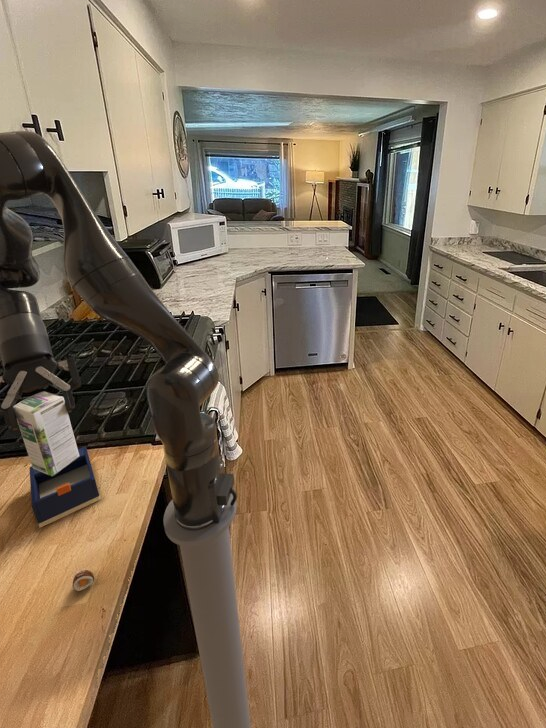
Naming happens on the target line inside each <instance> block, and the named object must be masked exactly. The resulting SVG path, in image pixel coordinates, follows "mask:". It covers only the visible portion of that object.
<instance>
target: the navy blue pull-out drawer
mask: <svg viewBox="0 0 546 728" xmlns="http://www.w3.org/2000/svg"><path fill="white" fill-rule="evenodd" d="M77 449H78V452H79V457H78V458H76V459H75V460H74V461H72V462H71V463H70V464H69V465H67V466H66V467H65V468H63V469H62V470H60V471H59V472H58V473H56V474H55V475H54V476H50V475H47V474H45V473H42V472H40V471H38V470H36V469H33V467H32V466H29V467H28V468H29V469H28V470H29V482H30V498H31V499H30V500H31V501H30V502H31V508H32V511H33V513H34V516H35V520H36V522H37V525H38V528H39V529H40V528H43V527H44V526H46V525H49V524H51V523H54V522H56V521H57V520H60V519H62V518H64V517H66V516H68V515H70V514H72V513H75V512H77V511H79V510H82V509H83V508H85V507H88V506H90V505H92V504H94V503H96V502H98V501H100V500H101V496H100V492H99V489H98V485H97V482H96V478H95V474H94V470H93V468H92V463H91V459H90V457H89V451H88V449H87V446H86V445H84V446H81V447H79V448H77Z"/></svg>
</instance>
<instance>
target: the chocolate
mask: <svg viewBox="0 0 546 728" xmlns="http://www.w3.org/2000/svg"><path fill="white" fill-rule="evenodd" d="M71 574H72V575H74V577H73V580H72V585H71V586H72V588H73V589H74V590H75V591H76V592H80V591H84V590H85V589H87V588H89V587H90V586H91V585H92V584H93V583H94V582H95V577H96V576H95V575H94V573H93V572H92V571H91V570H88V569H87V568H83V569H80V570H77V571H73V572H72V573H71Z"/></svg>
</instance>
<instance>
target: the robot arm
mask: <svg viewBox="0 0 546 728" xmlns="http://www.w3.org/2000/svg"><path fill="white" fill-rule="evenodd" d="M42 195H45V196H47V197H48V198H49V200H50V201H51V202H52V204H53V205H54V207H55V208H56V210H57V212H58V215H59V216H60V219H61V222H62V229H63V265H64V266H63V267H64V271H65V275H66V278H67V280H68V282H69V283H70V285H71V286H72V288H74V290H75V291H76V292H77V294H78V295H79V296H80V298H82V299H83V301H84V302H85V304H86V305H87V306H88V307H89V308H90V309H91V310H92V312H94V313H95V314H96V315H97V316H99V317H100V318H101V319H103V320H104V321H107V322H109V323H111V324H113V325H115V326H117V327H119V328H121V329H124V330H126V331H128V332H130V333H132V334H134V335H135V336H138V337H139V338H141V339H142V340H144V341H145V342H146V343H147V344H149V345H150V346H151V347H152V348H153V350H155V352H156V353H157V354H158V355H159V356H160V358H161V359H162V360H163V362H164V363H165V364H164V365H162V367H160V368H158V370H156V371H155V372H153V374H151V376H150V377H149V378H148V380H147V383H146V387H145V388H146V390H145V391H146V392H145V394H146V395H145V396H146V401H147V405H148V406H147V407H148V409H149V413H150V416H151V417H150V418H151V420H152V424H153V428H154V431H155V433H156V436H157V437H158V439H159V440H160V442H161V443H162V446H163V447H162V448H163V452H164V459H165V464H166V470H167V475H168V482H169V487H170V492H171V493H170V494H171V498H172V499H173V504H174V511H175V518H176V522H177V523H178V525H179V526H180V527H182V528H184V529H186V530H200V529H203V528H206V527H208V526H210V525H211V524H214V523H219V522H220V519H221V516H222V513H223V511H224V508H225V506H227V504H228V501H229V498H230V494H232V495H233V499H232V501H231V503H230V504H231V505H232V506H233V505H234V503H235V501H236V502H237V500H238V494H237V492H236V491H235V489H234V485H235V475H234V473H226V469H225V462H224V460H221V459H220V451H219V442H218V441H219V440H218V430H217V425H216V421H215V419H214V418H213V417H212V416H211V415H210V414H209V413H205V412H201V406H202V405H203V404H204V402H206V400H207V399H208V398H209V397H210V396H211V394H212V393H213V392H214V391H215V390H216V388H217V387H218V384H219V381H220V375H219V372H218V371H219V370H218V368H217V366H216V363H214V361H213V359H212V358H211V357H210V356H209V354H208V353H207V352H206V351H205V350H204V348H202V347H201V346H200V344H199V343H198V342H197V341H196V340H195V339H194V338H193V337H192V336H191V335H190V334H189V333H188V331H187V330H186V329H185V328H184V327H183V326H182V325H181V324H180V323H179V322H178V320H177V319H176V318H175V317H174V316H173V314H172V313H171V312H170V311H169V309H168V308H167V307H166V305H165V304H164V303H163V302H162V300H161V299H160V298H159V296H158V295H157V294H156V293H155V291H154V290H153V289H152V288H151V286H150V285H149V283H148V282H147V281H146V278H145V277H144V276H143V274H142V273H141V271H140V270H139V269H138V267H137V266H136V265H135V263H134V262H133V261H132V260H131V258H130V257H129V255H127V253H126V252H125V251H124V250H123V248H122V247H121V246H120V245H119V244H118V242H117V241H116V240H115V238H114V237H113V236H112V234H111V233H110V232H109V230H108V229H107V228H106V226H105V225H104V223H103V222H102V220H101V219H100V218H99V216H98V215H97V213H96V212H95V211H94V209H93V208H92V207H91V205H90V203H89V201H88V200H87V199H86V196H85V195H84V194H83V192H82V190H81V189H80V187H79V186H78V184H77V182H76V181H75V179H74V178H73V176H72V174H71V173H70V171H69V170H68V168H67V166H66V164H64V162H63V161H62V159H61V157H60V156H59V154H58V153H57V151H56V150H55V149H54V148H53V146H52V145H51V144H50V143H49V142H48V141H47V140H46V139H45V138H43V136H41V135H40V134H39V133H36V132H34V131H31V130H15V131H5V132H4V131H3V132H0V358H1V361H2V366H3V374H2V375H1V376H0V386H2V384H3V383H4V384H6V385H8V386H9V387H10V388H9V389H8V391H7V393H6V396H5V398H4V399H3V401H2V402H0V413H1V412H2V415H3V419H4V424H5V426H6V427H7V428H8V429H11V430H12V431H17V430H20V428H19V424H18V421H17V418H16V415H15V412H14V409H13V406H15V405H16V404H17V402H18V401H19V400H20V398H21V397H22V395H23V393H26V394H29V393H33V392H34V391H36V390H43V389H47V388H48V387H49V386H51V387H53V388H55V389H56V390H58V391H59V392H61V394H62V397H64V401H65V405H66V409H67V412H68V414H69V413H70V414H71V413H73V409H75V407H76V404H75V400H74V396H73V392H74V391H75V390H76V389H79V388H81V386H82V383H81V378H80V374H79V371H78V367H77V365H76V361H75V358H74V357H72V356H69V357H68V358H66V359H64V360H61V361H57V360H56V359H55V357H54V353H53V350H52V346H51V342H50V337H49V333H48V331H47V327H46V324H45V323H44V320H43V317H42V313H41V310H40V306H39V303H38V299H37V297H36V296H35V295H34V294H33V293H31V292H29V291H26V290H18V289H23V288H29V287H33V286H35V285H36V284H37V283H38V282H40V281H39V280H40V278H41V271H40V267H39V265H38V262H37V261H36V259H35V257H34V256H33V245H34V233H33V230H32V228H31V226H30V224H29V223H28V222H27V221H26V220H25V219H24V218H23V217H22V216H21V215H19V214H18V213H16V212H15V211H13V210H11V209H10V208H8V207H7V206H6V205H7V203H8V202H13V201H20V200H24V199H30V198H33V197H38V196H42ZM16 289H17V290H16ZM60 369H63V371H65V372H69V374H70V378H71V382H69V383H67V382H66V381H64V380H62V379H61V378H60V377H58V376H57V373H58V372H59V370H60ZM172 499H171V500H172Z"/></svg>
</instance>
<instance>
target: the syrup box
mask: <svg viewBox="0 0 546 728" xmlns="http://www.w3.org/2000/svg"><path fill="white" fill-rule="evenodd" d="M13 409H14V412H15V415H16V418H17V423H18V427H19V430H20V433H21V437H22V440H23V443H24V446H25V450H26V453H27V456H28V458H29V460H30V461H29V462H30V464H31V467H33V469H36V470H38V471H40V472H42V473H45V474H47V475H50V476H54V475H55V474H56V473H58V472H59V471H60V470H62V469H63V468H65V467H66V466H67V465H69V464H70V463H71V462H72V461H74V460H75V459H76V458H78V457H79V452H78V449H79V448H78V445H77V442H76V438H75V435H74V430H73V426H72V424H71V419H70V415H69V413H68V412H67V409H66V405H65V401H64V397H63V395H58V394H55V393H53V392H52V393H51V392H50V391H49V392H48V391H45V390H42V391H40V392H38V393H35V394H33V395H31V396H29V397H27V398H24V399H23V400H21V401H19V402H18V403H16V404H15V406H13Z"/></svg>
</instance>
